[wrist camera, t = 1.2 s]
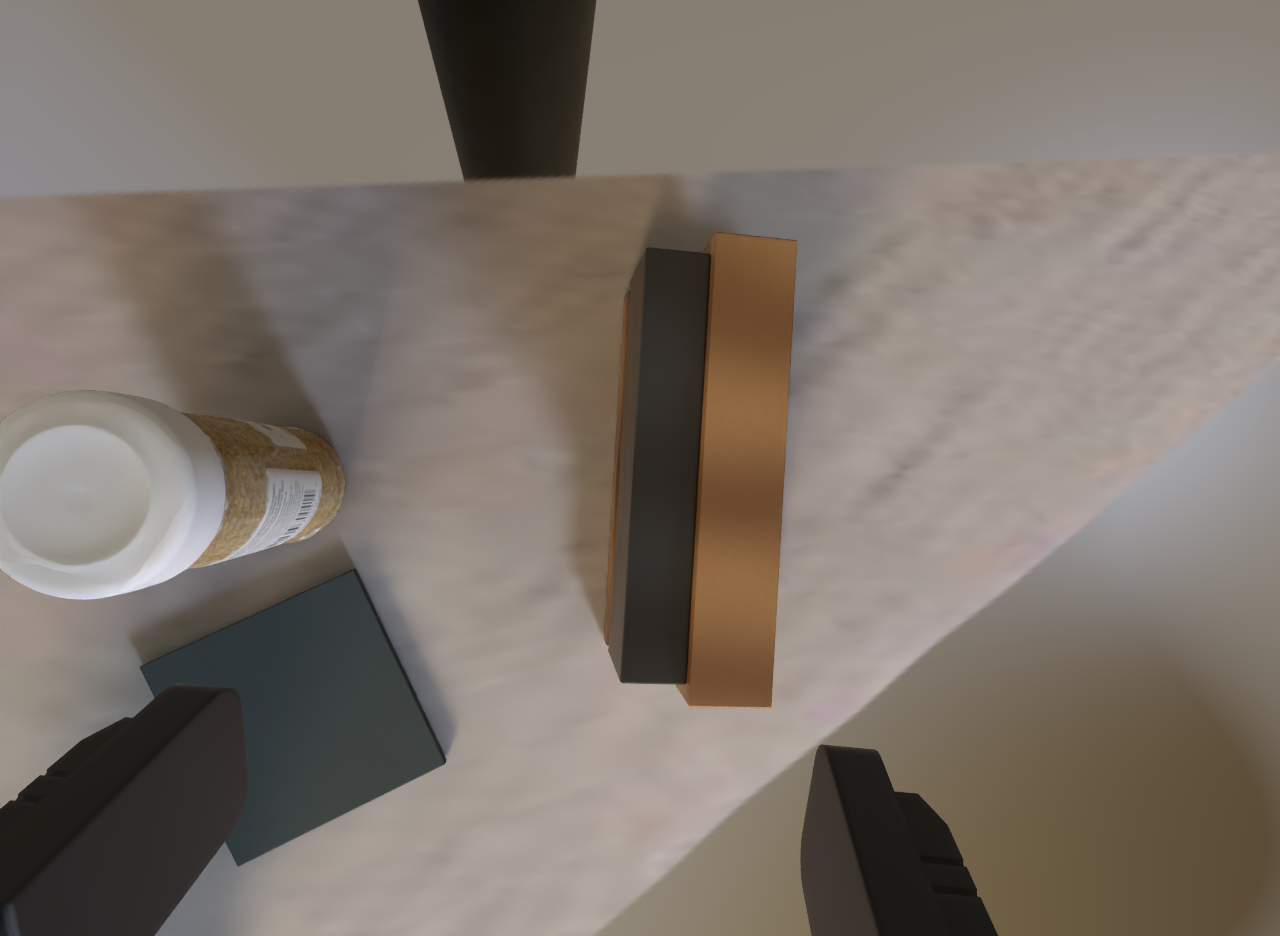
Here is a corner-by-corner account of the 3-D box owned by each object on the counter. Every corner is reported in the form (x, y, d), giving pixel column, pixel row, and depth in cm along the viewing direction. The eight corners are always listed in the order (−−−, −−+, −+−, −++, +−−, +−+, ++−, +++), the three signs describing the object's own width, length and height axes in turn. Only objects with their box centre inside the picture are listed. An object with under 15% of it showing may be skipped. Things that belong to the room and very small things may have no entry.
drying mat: (144, 664, 29) (138, 666, 28) (355, 568, 30) (353, 569, 29) (241, 861, 29) (237, 867, 29) (447, 760, 30) (445, 764, 30)
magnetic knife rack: (618, 296, 31) (649, 224, 22) (765, 310, 32) (853, 245, 23) (597, 639, 31) (620, 705, 22) (746, 643, 32) (828, 709, 23)
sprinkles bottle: (300, 403, 29) (102, 344, 16) (372, 498, 30) (236, 517, 16) (198, 473, 29) (-95, 471, 16) (273, 568, 29) (48, 647, 16)
